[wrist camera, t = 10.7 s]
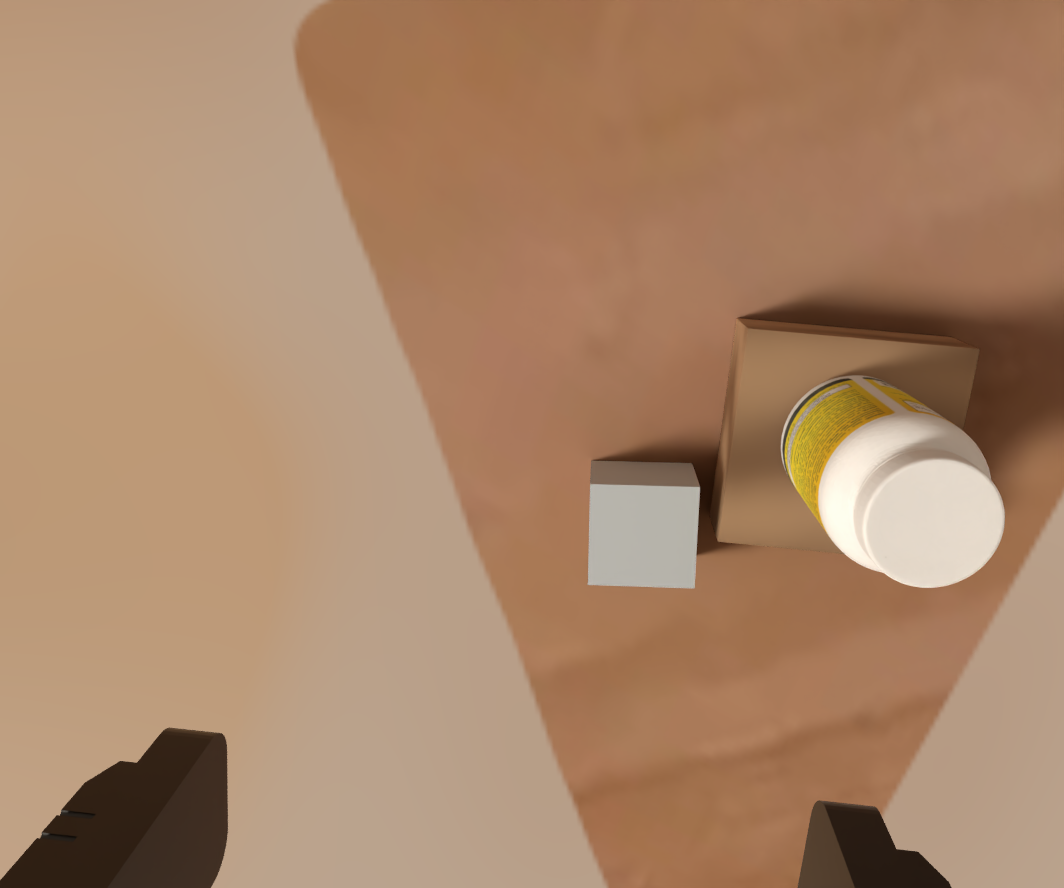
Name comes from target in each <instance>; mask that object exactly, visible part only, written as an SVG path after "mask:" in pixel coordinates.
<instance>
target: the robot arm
mask: <svg viewBox="0 0 1064 888" xmlns="http://www.w3.org/2000/svg"><path fill="white" fill-rule="evenodd" d="M227 808H228V804H227V744H226V740H225V737H224V735H223V734H222V733H213V732H204V731H195V730H186V729H176V728H167V729H165V730H164V731H163V732H162V733H161V734H160V735H159V736H158V737H157V739H156V740H155V741H154V742H153V744H152V745H151V746H150V748H149V749H148V750H147V751H146V752H145V754H144V755H143V756H142V757H141V759H140V760H139V761H138V762H137V763H133V762H124V761H120V762H118V763H117V764H115V765H113V766H111V767H110V768H108V769H106V770H105V771H103V772H102V773H100V774H98V775H97V776H95V777H94V778H92V779H90V780H89V781H87V782H85V783H84V784H83V786H82V787H81V788H80V789H79V790H78V791H77V792H76V794H75V795H74V796H73V797H72V798H71V800H70V801H69V802H68V803H67V804H66V805H65V806H64V808H63V809H62V810H61V814H60V816H58V815H57V816H56V817H55V818H54V819H53V820H52V821H51V823H50V824H49V825H48V826H47V827H46V828H45V829H44V831H43V832H42V836H41V838H40V839H39V838H37V839H36V840H35V841H34V842H33V843H32V844H31V846H30V847H29V848H28V849H27V850H26V851H25V852H24V854H23V855H22V856H21V857H20V858H19V859H18V861H17V862H16V863H15V864H14V865H13V866H12V868H11V869H10V870H9V871H8V872H7V873H6V874H5V876H4V877H3V878H2V879H1V880H0V888H211V886H212V885H213V883H214V881H215V879H216V877H217V875H218V872H219V869H220V866H221V864H222V860H223V856H224V852H225V847H226V841H227V833H228V832H227V831H228V809H227ZM798 888H951V886H950V884H949V882H948V881H947V880H946V879H945V878H944V877H943V876H942V875H941V874H940V873H939V872H938V871H937V870H936V869H935V868H934V867H933V866H932V865H931V864H930V863H929V862H928V861H927V860H926V859H925V858H924V857H923V856H922V855H921V854H920V853H919V852H915V851H906V850H897V849H896V848H895V845H894V843H893V841H892V839H891V836H890V834H889V832H888V830H887V827H886V825H885V823H884V821H883V819H882V816H881V814H880V812H879V811H878V809H877V808H876V807H873V806H864V805H855V804H846V803H837V802H828V801H817V802H816V803H815V805H814V807H813V810H812V813H811V818H810V823H809V829H808V834H807V840H806V845H805V851H804V856H803V862H802V867H801V872H800V878H799V883H798Z"/></svg>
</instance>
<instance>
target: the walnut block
mask: <svg viewBox="0 0 1064 888" xmlns="http://www.w3.org/2000/svg"><path fill="white" fill-rule="evenodd" d="M979 352H980V349H979V348H976V347H974V346H972V345H969V344H967V343H964V342H962V341H960V340H957V339H955V338H952V337H947V336H935V335H924V334H913V333H901V332H890V331H878V330H867V329H856V328H844V327H833V326H822V325H810V324H799V323H787V322H776V321H765V320H753V319H742V318H737V319H736V327H735V334H734V341H733V348H732V356H731V363H730V370H729V377H728V385H727V392H726V399H725V406H724V414H723V421H722V428H721V436H720V443H719V450H718V457H717V465H716V472H715V479H714V486H713V494H712V501H711V508H710V516H709V517H710V520H711V523H712V526H713V529H714V532H715V535H716V537H717V540H718V542H726V543H737V544H747V545H757V546H767V547H777V548H787V549H797V550H808V551H818V552H828V553H838V554H844V553H843V552H842V551H841V550H840V549H839V548H838V547H837V546H836V545H835V544H834V542H833V541H832V540H831V539H830V537H829V536H828V534H827V533H826V532H825V530H824V529H823V527H822V526H821V524H820V523H819V521H818V520H817V519H816V517H815V516H814V514H813V513H812V511H811V510H810V508H809V507H808V506H807V504H806V503H805V501H804V500H803V498H802V497H801V495H800V494H799V493H798V491H797V490H796V489H795V487H794V486H793V484H792V483H791V481H790V479H789V477H788V475H787V473H786V470H785V468H784V465H783V461H782V456H781V438H782V433H783V429H784V425H785V423H786V420H787V418H788V416H789V414H790V412H791V411H792V409H793V408H794V406H795V405H796V404H797V402H798V401H799V400H800V399H801V398H802V397H803V396H804V395H805V394H806V393H808V392H809V391H810V390H811V389H813V388H814V387H816V386H818V385H819V384H821V383H824V382H826V381H828V380H831V379H834V378H838V377H843V376H852V375H860V376H869V377H873V378H877V379H880V380H883V381H885V382H887V383H889V384H891V385H893V386H895V387H897V388H899V389H900V390H902V391H903V392H905V393H906V394H908V395H910V396H911V397H913V398H915V399H916V400H918V401H919V402H921V403H922V404H924V405H926V406H927V407H928V408H930V409H931V410H933V411H934V412H936V413H938V414H939V415H941V416H942V417H944V418H945V419H947V420H948V421H950V422H952V423H953V424H954V425H956V426H957V427H959V428H960V429H961V430H962V431H963V429H964V424H965V419H966V414H967V409H968V405H969V400H970V395H971V390H972V385H973V381H974V376H975V371H976V366H977V361H978V357H979Z"/></svg>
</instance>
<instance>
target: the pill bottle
mask: <svg viewBox="0 0 1064 888" xmlns="http://www.w3.org/2000/svg"><path fill="white" fill-rule="evenodd" d="M781 456H782V461H783V465H784V468H785V470H786V473H787V475H788V477H789V479H790V481H791V483H792V484H793V486H794V487H795V489H796V490H797V491H798V493H799V494H800V495H801V497H802V498H803V500H804V501H805V503H806V504H807V506H808V507H809V508H810V510H811V511H812V513H813V514H814V516H815V517H816V519H817V520H818V521H819V523H820V524H821V526H822V527H823V529H824V530H825V532H826V533H827V534H828V536H829V537H830V539H831V540H832V541H833V542H834V544H835V545H836V546H837V547H838V548H839V549H840V550H841V551H842V552H843V553H844V554H845V555H847V556H848V557H849V558H850V559H852V560H853V561H855V562H857V563H858V564H860V565H862V566H864V567H867V568H869V569H872V570H875V571H878V572H882V573H885V574H886V575H887V576H889V577H891V578H892V579H894V580H896V581H898V582H901V583H903V584H906V585H910V586H914V587H921V588H934V587H942V586H947V585H950V584H954V583H957V582H959V581H961V580H963V579H966V578H967V577H969V576H971V575H972V574H974V573H975V572H977V571H978V570H979V569H980V568H982V567H983V566H984V565H985V564H986V563H987V561H988V560H989V559H990V558H991V556H992V555H993V554H994V552H995V551H996V549H997V547H998V545H999V543H1000V540H1001V538H1002V534H1003V530H1004V524H1005V510H1004V505H1003V501H1002V498H1001V495H1000V493H999V491H998V489H997V487H996V486H995V484H994V483H993V482H992V480H991V475H990V471H989V467H988V465H987V462H986V460H985V458H984V456H983V454H982V452H981V450H980V449H979V448H978V446H977V445H976V443H975V442H974V441H973V440H972V439H971V438H970V437H969V436H968V435H967V434H966V433H965V432H963V431H962V430H961V429H960V428H959V427H957V426H956V425H954V424H953V423H952V422H950V421H948V420H947V419H945V418H944V417H942V416H941V415H939V414H938V413H936V412H934V411H933V410H931V409H930V408H928V407H927V406H926V405H924V404H922V403H921V402H919V401H918V400H916V399H915V398H913V397H911V396H910V395H908V394H906V393H905V392H903V391H902V390H900V389H899V388H897V387H895V386H893V385H891V384H889V383H887V382H885V381H883V380H880V379H877V378H873V377H869V376H860V375H852V376H843V377H838V378H834V379H831V380H828V381H826V382H824V383H821V384H819V385H818V386H816V387H814V388H813V389H811V390H810V391H809V392H808V393H806V394H805V395H804V396H803V397H802V398H801V399H800V400H799V401H798V402H797V404H796V405H795V406H794V408H793V409H792V411H791V412H790V414H789V416H788V418H787V420H786V423H785V425H784V429H783V433H782V438H781Z"/></svg>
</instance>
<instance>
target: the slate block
mask: <svg viewBox="0 0 1064 888" xmlns="http://www.w3.org/2000/svg"><path fill="white" fill-rule="evenodd" d="M699 499H700V485H699V482H698V479H697V476H696V473H695V470H694V467H693V464H692V463H669V462H628V461H591V478H590V517H589V561H588V585H608V586H638V587H667V588H695V571H696V553H697V535H698V517H699Z"/></svg>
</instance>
